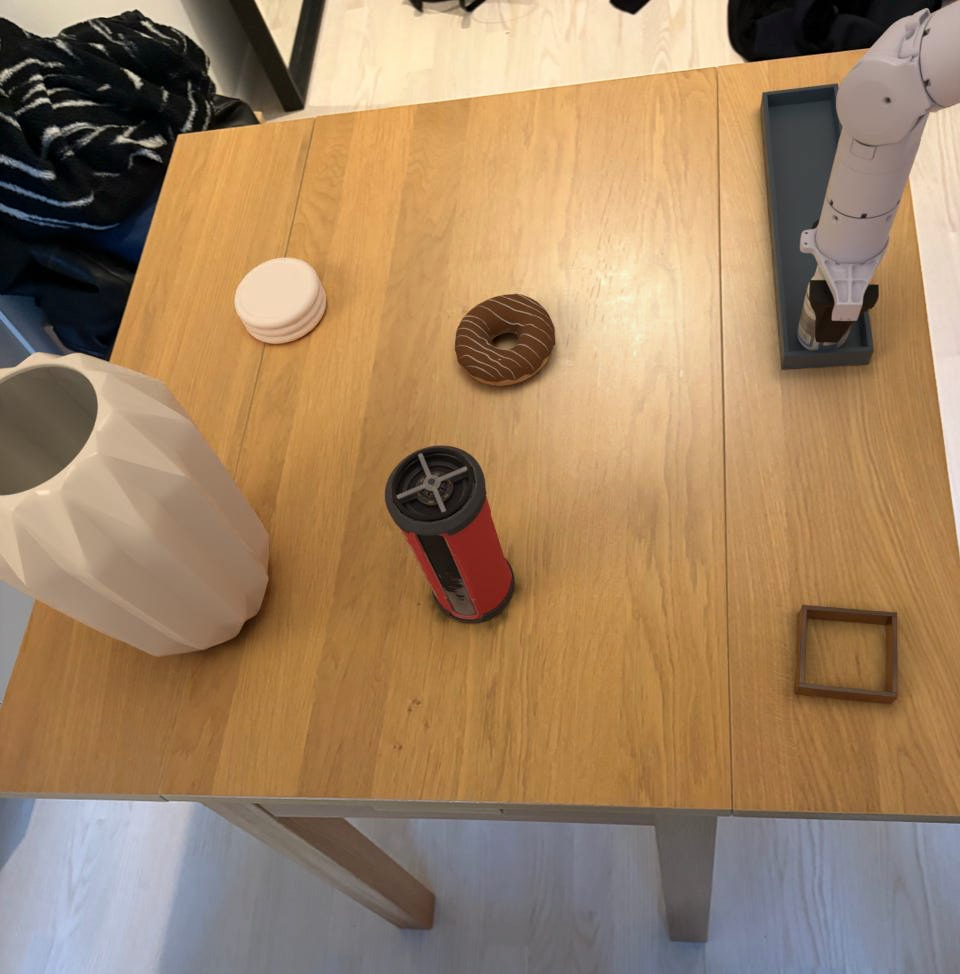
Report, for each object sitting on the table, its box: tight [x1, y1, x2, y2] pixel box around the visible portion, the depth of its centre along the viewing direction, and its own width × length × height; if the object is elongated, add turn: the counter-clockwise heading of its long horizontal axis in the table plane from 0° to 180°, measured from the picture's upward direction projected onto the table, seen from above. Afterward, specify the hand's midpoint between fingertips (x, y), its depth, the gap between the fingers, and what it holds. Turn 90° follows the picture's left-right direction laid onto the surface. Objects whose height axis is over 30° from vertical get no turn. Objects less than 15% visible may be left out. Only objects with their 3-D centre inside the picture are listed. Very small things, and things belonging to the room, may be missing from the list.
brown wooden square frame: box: [794, 604, 899, 705], centre depth 68 cm, size 7×7×2 cm
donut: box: [454, 293, 557, 387], centre depth 85 cm, size 11×11×4 cm
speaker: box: [384, 444, 516, 623], centre depth 69 cm, size 8×8×18 cm
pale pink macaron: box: [233, 257, 327, 345], centre depth 93 cm, size 10×10×4 cm
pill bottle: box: [797, 265, 851, 350], centre depth 76 cm, size 5×5×8 cm
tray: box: [759, 82, 875, 370], centre depth 85 cm, size 37×8×2 cm, turn 176°
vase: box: [0, 351, 270, 658], centre depth 69 cm, size 20×20×27 cm
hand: (827, 316), depth 78 cm, fingers closed on pill bottle, 5 cm apart
